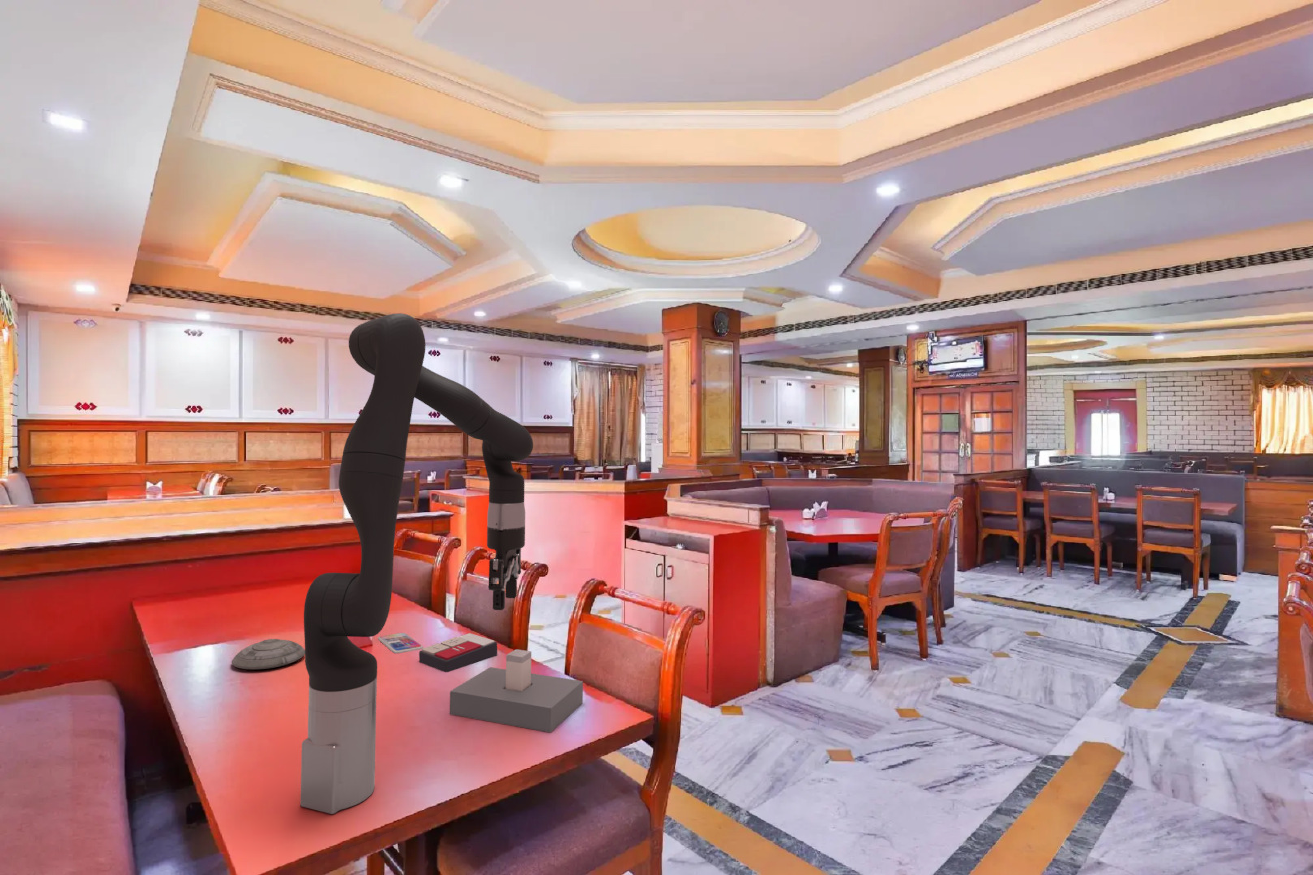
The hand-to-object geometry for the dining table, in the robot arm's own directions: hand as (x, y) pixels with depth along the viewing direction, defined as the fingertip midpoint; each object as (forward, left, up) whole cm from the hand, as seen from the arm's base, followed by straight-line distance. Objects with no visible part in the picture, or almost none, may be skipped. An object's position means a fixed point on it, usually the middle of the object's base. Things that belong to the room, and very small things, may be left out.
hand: (505, 603), depth 128 cm
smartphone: (+23, +45, -21) cm, 55 cm away
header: (-1, -4, -21) cm, 21 cm away
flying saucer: (+1, +64, -21) cm, 68 cm away
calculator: (+19, +24, -21) cm, 38 cm away
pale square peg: (-1, -4, -20) cm, 20 cm away
